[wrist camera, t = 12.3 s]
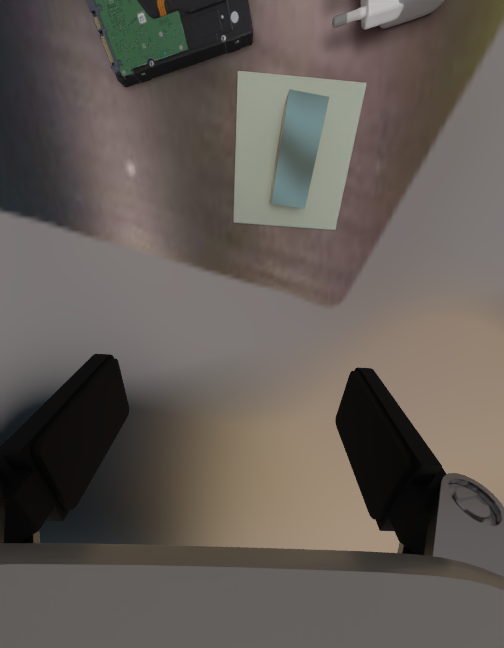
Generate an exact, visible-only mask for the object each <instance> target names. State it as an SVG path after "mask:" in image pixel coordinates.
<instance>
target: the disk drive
mask: <svg viewBox="0 0 504 648" xmlns="http://www.w3.org/2000/svg"><path fill="white" fill-rule="evenodd" d="M86 2H87V5H88V8H89V10H90V12H92V14H93V16H94V21H95V24H96V26H97V29H98V32H100V38H101V40H102V42H103V45H104V48H105V50H106V53H107V56H108V59H109V61H110V63H111V64H112V66H111V69H112V70H113V72H114V73H115V74H116V77H117V80H118V81H119V82H120V83H121V84H122V85H124V86H125V87H128V86H131V85H134V84H137V83H140V82H145V81H148V80H151V79H152V78H155V77H158V76H161V75H163V74H166V73H169V72H172V71H175V70H178V69H181V68H184V67H187V66H190V65H193V64H196V63H199V62H202V61H205V60H207V59H211V58H213V57H216V56H219V55H222V54H225V53H230V52H233V51H236V50H239V49H240V48H242V47H245V46H248V45H251V44H252V39H253V29H252V21H251V16H250V10H249V4H248V0H86Z"/></svg>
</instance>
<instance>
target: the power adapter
mask: <svg viewBox="0 0 504 648" xmlns="http://www.w3.org/2000/svg"><path fill="white" fill-rule="evenodd" d="M445 1H446V0H360V8H358V9H356V10H353V11H350V12H348V13H343V14H340V15H337V16H335V17H334V18H333V21H332V25H333V27H334V28H336V27H339V26H342V25H345V24H347V23H350V22H353V21H356V20H360V19H361V28H363V29H364V30H366V29H369V28H372V27H375V26H378V25H379V26H380V27H381V28H383V29H385V28H389V27H392V26H396V25H399V24H402V23H405V22H408V21H411V20H414V19H417V18H419V17H422V16H425V15H427V14H429V13H431V12H433V11H434V10H436V9H437V8H438V7H439V6H441V5H442V4H443V3H444V2H445Z"/></svg>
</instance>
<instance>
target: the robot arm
mask: <svg viewBox="0 0 504 648" xmlns="http://www.w3.org/2000/svg"><path fill="white" fill-rule="evenodd" d="M128 414H129V405H128V401H127V397H126V393H125V388H124V384H123V380H122V376H121V371H120V367H119V363H118V360H117V359H114V357H113V356H112V355H107V354H94V355H93V356H92V357H91V358H90V359H89V360H88V361H87V362H86V363H85V364H84V365H83V366H82V367H81V368H80V369H79V370H78V371H77V372H76V373H75V374H74V375H73V376H72V377H71V378H70V379H69V380H68V381H67V382H66V383H65V384H63V386H61V387H60V389H59V390H57V391H56V392H55V393H54V395H52V396H51V398H49V399H48V400H47V401H46V402H45V403H44V404H43V405H42V406H41V407H40V408H39V409H38V410H37V411H36V412H35V413H34V414H33V415H32V416H31V417H30V418H29V419H28V420H27V421H26V422H25V423H24V424H23V425H22V426H21V427H20V428H19V429H18V430H17V431H16V432H15V433H14V434H13V435H12V436H11V437H10V438H9V439H8V440H7V441H6V442H5V443H4V444H3V445H2V446H1V447H0V648H504V507H503V505H502V504H501V502H500V501H499V500H498V499H497V498H496V497H495V496H494V495H493V494H492V493H491V492H490V491H489V490H488V489H486V488H485V487H484V486H483V485H481V484H480V483H478V482H476V481H475V480H473V479H471V478H469V477H467V476H465V475H461V474H457V473H450V474H446V473H445V471H444V470H443V468H442V465H441V464H440V463H439V461H438V460H437V458H436V457H435V456H434V454H433V453H432V451H431V450H430V448H429V447H428V446H427V444H426V443H425V441H424V440H423V439H422V437H421V436H420V434H419V433H418V432H417V430H416V429H415V428H414V426H413V425H412V423H411V422H410V420H409V419H408V418H407V417H406V415H405V413H404V412H403V411H402V409H401V408H400V406H399V405H398V404H397V402H396V401H395V399H394V398H393V397H392V395H391V394H390V393H389V391H388V390H387V388H386V387H385V386H384V384H383V383H382V381H381V380H380V378H379V377H378V376H377V374H376V373H375V372H374V370H373V369H371V368H356V369H355V371H351V373H350V375H349V378H348V381H347V384H346V388H345V391H344V394H343V397H342V400H341V403H340V406H339V410H338V412H337V415H336V426H337V429H338V432H339V434H340V437H341V440H342V442H343V445H344V448H345V450H346V453H347V456H348V458H349V461H350V464H351V467H352V469H353V472H354V475H355V477H356V480H357V483H358V485H359V488H360V491H361V493H362V496H363V499H364V501H365V504H366V507H367V509H368V512H369V514H370V516H371V517H372V518H373V519H376V522H377V524H378V527H379V530H380V531H395V533H396V535H397V537H398V540H399V541H400V543H399V548H398V552H397V553H382V552H362V551H334V550H306V549H305V550H304V549H276V548H241V547H204V546H167V545H122V544H121V545H120V544H77V543H76V544H75V543H74V544H73V543H40V536H39V530H40V528H41V526H42V525H43V524H44V522H45V520H47V521H64V519H65V517H66V515H67V514H68V512H69V511H70V510H71V509H73V508H75V507H76V506H77V504H78V503H79V501H80V499H81V497H82V496H83V494H84V492H85V490H86V489H87V487H88V485H89V483H90V482H91V480H92V478H93V476H94V475H95V473H96V471H97V469H98V468H99V466H100V464H101V462H102V461H103V459H104V457H105V455H106V454H107V452H108V450H109V448H110V447H111V444H112V443H113V441H114V439H115V438H116V436H117V434H118V432H119V431H120V429H121V427H122V425H123V424H124V422H125V420H126V418H127V416H128Z"/></svg>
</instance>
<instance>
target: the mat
mask: <svg viewBox="0 0 504 648" xmlns="http://www.w3.org/2000/svg"><path fill="white" fill-rule="evenodd" d="M366 84H367V83H362V82H352V81H341V80H330V79H320V78H309V77H298V76H287V75H277V74H266V73H255V72H245V71H238V86H237V121H236V155H235V189H234V223H246V224H260V225H274V226H288V227H302V228H315V229H329V230H335V229H336V224H337V220H338V215H339V210H340V206H341V201H342V196H343V191H344V187H345V182H346V177H347V173H348V168H349V163H350V159H351V154H352V149H353V145H354V140H355V135H356V131H357V126H358V121H359V117H360V112H361V107H362V103H363V98H364V93H365V89H366ZM289 89H291V90H296V91H301V92H307V93H312V94H317V95H322V96H327V97H329V101H328V106H327V111H326V115H325V120H324V124H323V129H322V133H321V138H320V142H319V147H318V151H317V156H316V161H315V165H314V170H313V174H312V179H311V183H310V188H309V192H308V197H307V201H306V206H305V209H302V208H296V207H290V206H283V205H277V204H271V203H269V199H270V193H271V186H272V180H273V174H274V167H275V161H276V154H277V148H278V142H279V135H280V129H281V122H282V116H283V109H284V104H285V101H286V98H287V95H288V92H289Z"/></svg>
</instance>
